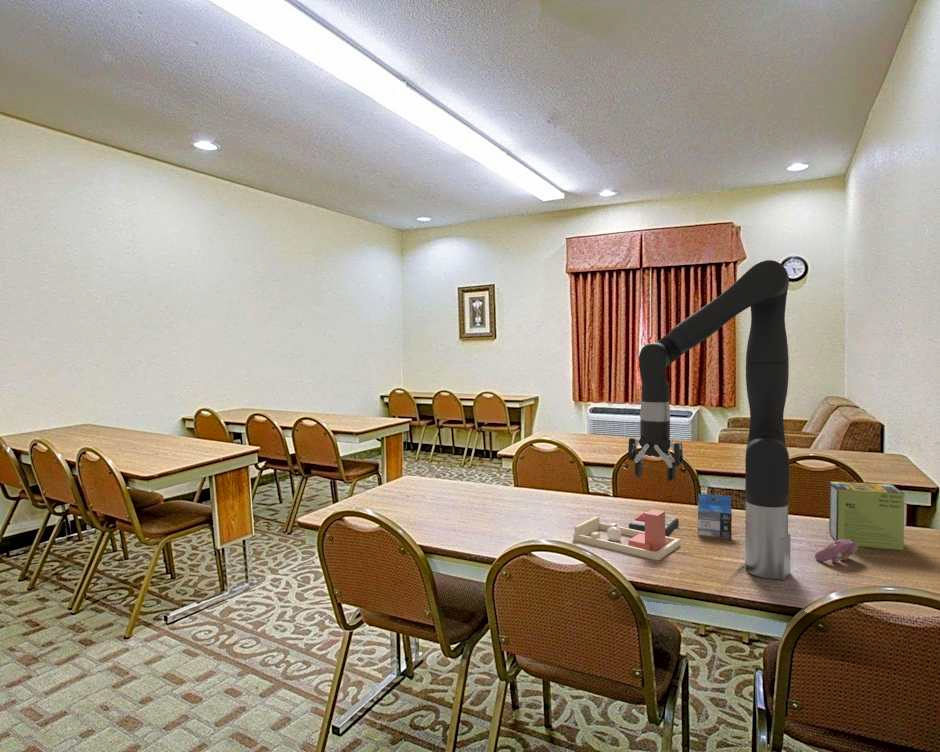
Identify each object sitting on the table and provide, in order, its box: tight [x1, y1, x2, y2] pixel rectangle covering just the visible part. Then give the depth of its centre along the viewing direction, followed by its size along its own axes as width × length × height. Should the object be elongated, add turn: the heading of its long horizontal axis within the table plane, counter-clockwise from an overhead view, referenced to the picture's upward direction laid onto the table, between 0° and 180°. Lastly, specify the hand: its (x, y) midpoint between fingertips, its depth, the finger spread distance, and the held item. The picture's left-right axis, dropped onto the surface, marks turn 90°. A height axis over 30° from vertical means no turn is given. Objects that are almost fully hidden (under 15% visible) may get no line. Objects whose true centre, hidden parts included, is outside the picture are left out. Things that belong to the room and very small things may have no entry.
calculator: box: [628, 512, 680, 537], centre depth 172 cm, size 11×4×15 cm
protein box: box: [828, 481, 906, 551], centre depth 159 cm, size 10×15×16 cm
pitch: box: [572, 515, 681, 561], centre depth 159 cm, size 25×14×5 cm, turn 48°
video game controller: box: [814, 539, 859, 563], centre depth 146 cm, size 10×5×7 cm, turn 114°
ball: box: [606, 527, 622, 542], centre depth 161 cm, size 4×4×4 cm
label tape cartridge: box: [697, 493, 733, 541], centre depth 164 cm, size 9×4×12 cm, turn 68°
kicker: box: [627, 508, 666, 552], centre depth 154 cm, size 8×7×10 cm
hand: (654, 478), depth 152 cm, fingers open, 8 cm apart
